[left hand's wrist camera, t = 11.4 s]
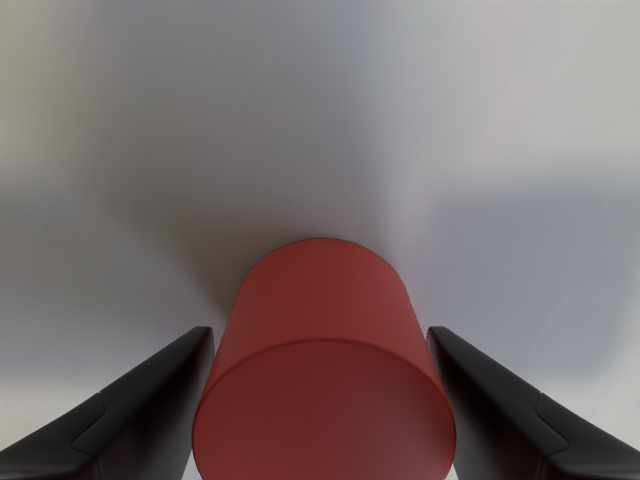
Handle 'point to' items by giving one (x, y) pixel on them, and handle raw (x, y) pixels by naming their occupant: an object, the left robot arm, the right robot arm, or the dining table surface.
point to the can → (323, 376)
